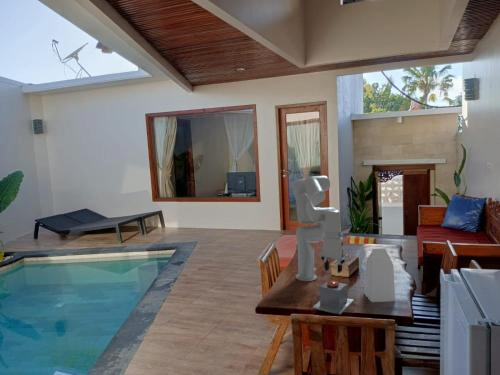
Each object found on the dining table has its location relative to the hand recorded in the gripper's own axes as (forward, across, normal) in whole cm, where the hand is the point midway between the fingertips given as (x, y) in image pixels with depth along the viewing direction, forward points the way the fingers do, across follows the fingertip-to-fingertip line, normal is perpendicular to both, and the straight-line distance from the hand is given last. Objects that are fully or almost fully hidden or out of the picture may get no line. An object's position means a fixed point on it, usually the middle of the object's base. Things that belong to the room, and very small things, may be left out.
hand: (333, 270), depth 193 cm
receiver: (+18, 0, 0) cm, 18 cm away
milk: (+18, -16, -21) cm, 32 cm away
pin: (+16, 0, 0) cm, 16 cm away
